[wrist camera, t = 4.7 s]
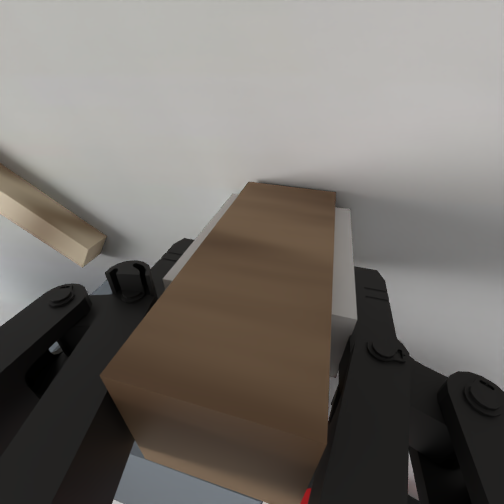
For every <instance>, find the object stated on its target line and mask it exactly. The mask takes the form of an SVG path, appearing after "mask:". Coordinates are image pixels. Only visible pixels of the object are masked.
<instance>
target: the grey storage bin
mask: <svg viewBox="0 0 504 504" xmlns="http://www.w3.org/2000/svg"><path fill="white" fill-rule="evenodd" d="M107 294H112V291H111V288H110V285H109V283H108V280H106V281H105V282H104V283H103V284H102V285H101V286H100V287H99V288H98V289H97V290H96V291H94V292H93V293H92V294H91V295H107ZM59 348H60V346H59V344H58V343H57V341H56V342H55V343H54V344H53V345H52V346H51V347H50V348H49V351H50V352H54V351H56V350H57V349H59ZM114 500H116V501H119V502H121V503H123V504H262V503H263V501H261V500H258V499H255V498H253V497H250V496H247V495H244V494H241V493H239V492H236V491H233V490H230V489H228V488H225V487H222V486H219V485H216V484H214V483H211V482H208V481H205V480H203V479H200V478H197V477H194V476H191V475H189V474H186V473H183V472H180V471H178V470H175V469H172V468H169V467H166V466H164V465H161V464H158V463H155V462H153V461H150V460H147V459H145V458H144V456H143V454H142V452H141V450H140V448H139V447H138V445H137V443H136V441H134V444H133V447H132V449H131V452H130V455H129V458H128V461H127V463H126V466H125V469H124V472H123V474H122V477H121V480H120V483H119V486H118V488H117V491H116V494H115V497H114Z"/></svg>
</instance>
